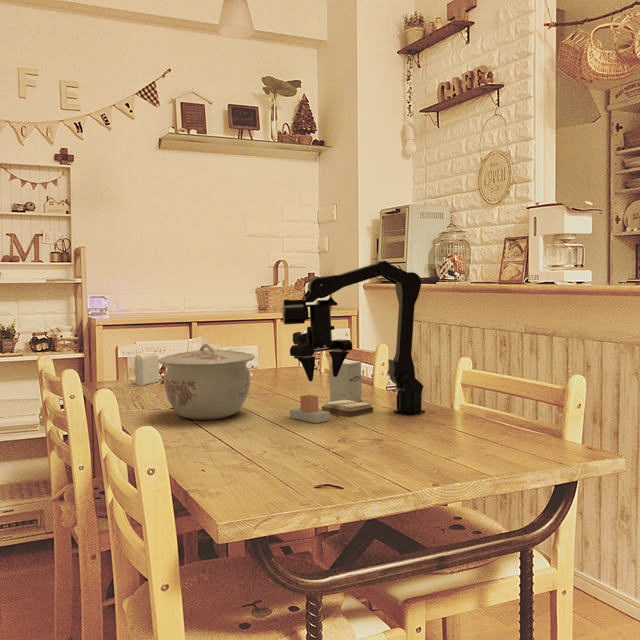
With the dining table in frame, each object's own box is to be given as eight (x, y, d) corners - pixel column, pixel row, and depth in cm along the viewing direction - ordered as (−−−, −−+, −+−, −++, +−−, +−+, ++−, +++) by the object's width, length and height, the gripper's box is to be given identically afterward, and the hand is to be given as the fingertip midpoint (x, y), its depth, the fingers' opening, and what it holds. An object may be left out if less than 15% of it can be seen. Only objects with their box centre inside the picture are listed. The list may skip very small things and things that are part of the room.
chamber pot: (239, 427, 180) (237, 348, 179) (142, 424, 186) (139, 348, 184) (268, 407, 208) (266, 338, 206) (183, 405, 213) (181, 339, 212)
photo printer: (142, 386, 255) (141, 353, 254) (133, 385, 257) (132, 352, 256) (161, 382, 264) (160, 350, 263) (152, 381, 266) (151, 349, 265)
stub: (330, 420, 185) (329, 397, 185) (316, 423, 182) (315, 399, 181) (303, 414, 193) (303, 392, 193) (290, 417, 190) (289, 395, 190)
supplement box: (349, 404, 208) (348, 363, 207) (329, 402, 213) (328, 362, 212) (362, 401, 214) (361, 360, 213) (343, 399, 218) (342, 359, 218)
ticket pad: (373, 412, 195) (373, 403, 195) (350, 417, 190) (350, 408, 189) (344, 407, 204) (344, 398, 204) (321, 411, 198) (321, 402, 198)
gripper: (325, 319, 201) (328, 372, 202) (275, 324, 188) (278, 381, 189) (352, 320, 192) (354, 375, 193) (302, 325, 180) (304, 384, 181)
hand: (323, 378), depth 189 cm, fingers open, 9 cm apart
